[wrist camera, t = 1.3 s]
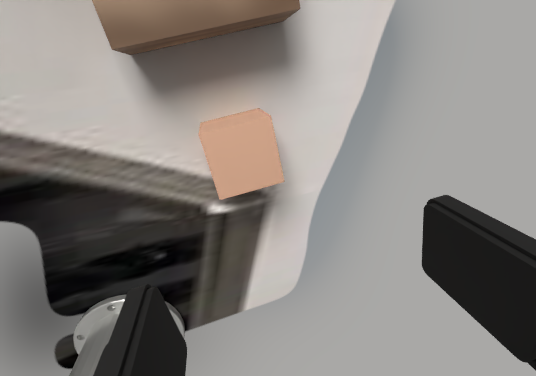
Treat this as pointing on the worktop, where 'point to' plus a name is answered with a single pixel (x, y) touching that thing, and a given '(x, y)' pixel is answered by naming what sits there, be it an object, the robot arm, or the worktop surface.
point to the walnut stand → (183, 20)
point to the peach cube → (241, 152)
